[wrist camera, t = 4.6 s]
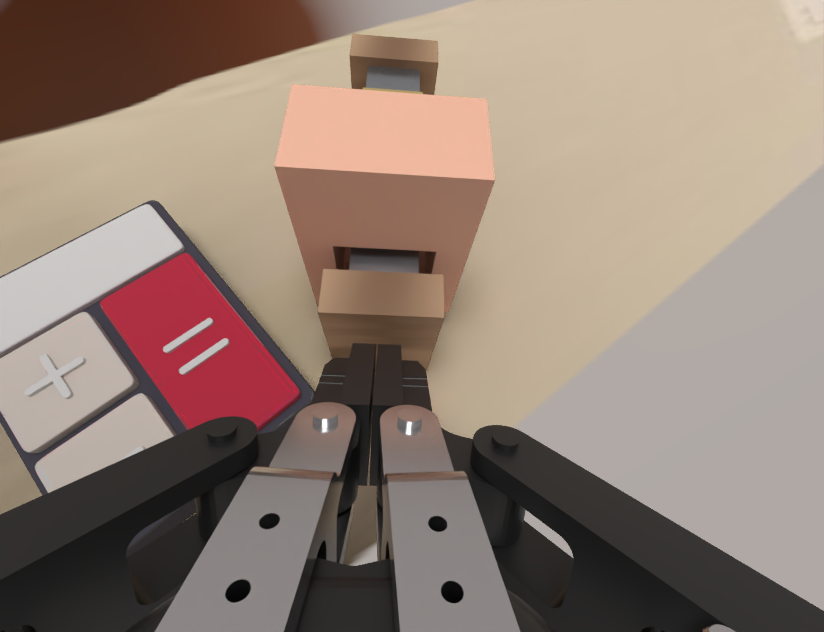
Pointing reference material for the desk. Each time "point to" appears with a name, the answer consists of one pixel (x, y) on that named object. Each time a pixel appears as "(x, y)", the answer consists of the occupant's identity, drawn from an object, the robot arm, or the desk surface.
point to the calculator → (130, 353)
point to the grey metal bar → (388, 258)
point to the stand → (373, 290)
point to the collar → (385, 176)
